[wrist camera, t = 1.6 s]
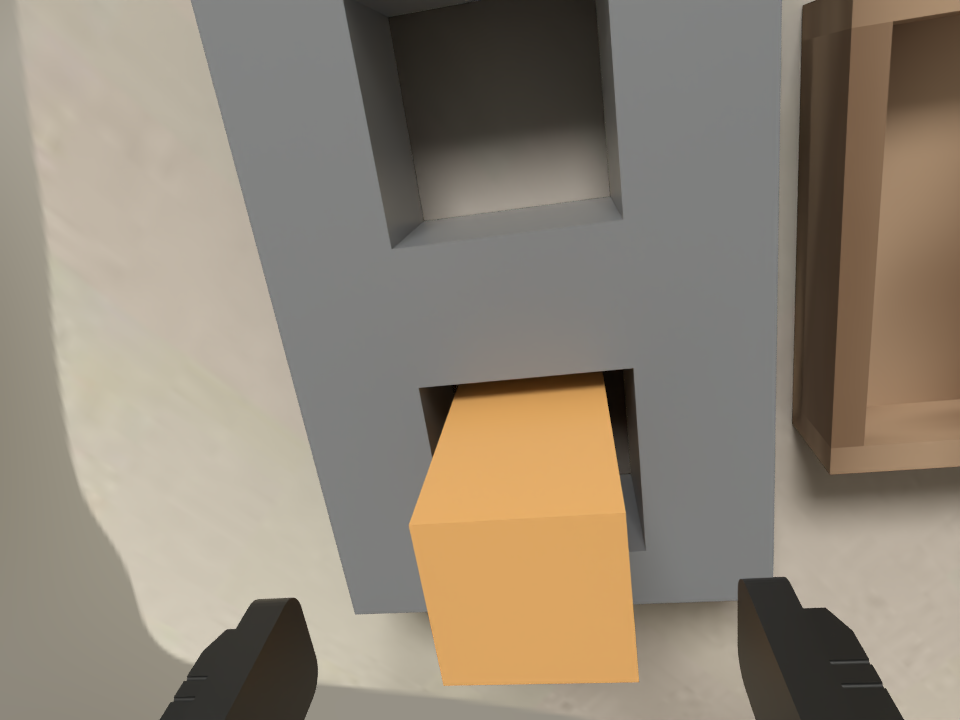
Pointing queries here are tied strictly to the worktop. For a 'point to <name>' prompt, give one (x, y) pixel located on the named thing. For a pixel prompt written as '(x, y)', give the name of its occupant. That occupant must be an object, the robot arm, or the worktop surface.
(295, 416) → the worktop surface
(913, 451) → the tray
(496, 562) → the plug
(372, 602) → the cinder block
